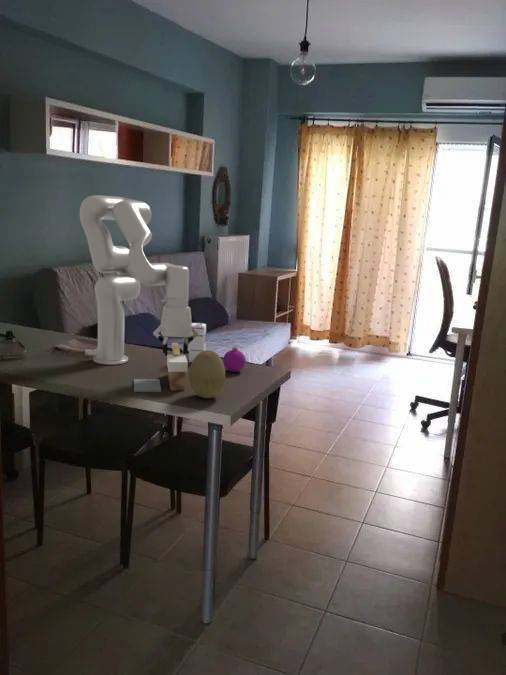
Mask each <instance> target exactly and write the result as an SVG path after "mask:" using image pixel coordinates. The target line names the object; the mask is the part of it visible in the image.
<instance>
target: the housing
mask: <svg viewBox="0 0 506 675" xmlns="http://www.w3.org/2000/svg"><path fill="white" fill-rule="evenodd" d="M167 379H168V384H169V389H171V390H170V391H185V385H186V384H185V383H186V382H185V381H186V372H168V371H167Z"/></svg>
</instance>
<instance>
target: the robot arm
mask: <svg viewBox="0 0 506 675" xmlns="http://www.w3.org/2000/svg"><path fill="white" fill-rule="evenodd" d="M151 220H152V210H151V208H150V206H149V205H148V203H146V202H144V201H141V200H137V199H132V198H127V197H123V196H112V195H103V194H102V195H100V194H98V195H90V196H87V197H86V198H84V199H83V201H82V203H81V205H80V207H79V221H80V224H81V227H82V228H83V231H84V234H85V237H86V241H87V245H88V248H89V253H90V257H91V261H92V264H93V267H94V269H95V271H97V272H98V273H104V274H107V273H109V274H111V273H116V274H117V275H116V274H113V275H106V276H102V277H100V278H99V279H98V280H97V281H96V283H95V285H94V293H95V294H94V295H95V298H96V305H97V347H96V348H94V349H85V350H84V351H85V352H84V353H85V354H84V355H87V356H89V357H90V356H93V359H92V360H93V362H94V363H96V364H101V365H108V366H109V365H122V364H125V363H127V362H128V361H129V357H128V356H127V355H125V320H126V319H125V318H126V317H125V311H124V307H123V306H122V304H121V302H124V301H130V300H135V299H136V298H138V297H139V295H140V294H141V285H143V286H145V287H156V286H165V297H164V298H161V299H160V303H161V304H164V306H163V307H162V312H161V318H160V319H161V320H160V325H159V326H158V327H157V328H156V329H155V330H154V331H153V332H152V333H153V334H152V335H153V336H155V337H156V338H157V339H158V340H159V341H160V342H161V343H162V354H164V356H165V357H167V354H168V346H169V345H168V340H169V338H183V340H184V342H183V344H182V355H185V356H187V354H189V343H190V342H191V341H192V340H193V339H194V338H195V337H197V336H198V333H197V331H196V330H195V329H194V328H193V327H192V323H193V322H192V309H191V307H190V306H189V290H190V288H189V287H190V286H189V285H190V270H189V267H188V266H186V265H176V264H173V263H169V262H153V263H152V262H151V263H150V262H149V261H148V258H147V257H146V255H145V253H144V247H145V246H147V245H148V244H149V243H150V241H151V240H152V238H153V233H152V232H151V230H150V229H149V227H148V224H149V223H150V222H151ZM103 221H115V222H116V224H117V226H118V228H119V229H120V231H121V232H122V234H123V235H124V237H125V239H126V241H127V243H128V245H129V248H128V247H126V246H123V245H114V241H113V239H112V235H111V233H110V231H109V229H108V227H107V226H106V224H105V223H104V222H103ZM191 331H192V333H193V334H192V335H191ZM159 333H161V335H160V334H159ZM189 336H190V337H189Z"/></svg>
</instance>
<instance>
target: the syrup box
mask: <svg viewBox="0 0 506 675" xmlns="http://www.w3.org/2000/svg"><path fill="white" fill-rule="evenodd" d="M192 327H193V328H194V329H195V330H196V331H197V333H198V336H197V337H195V338H194V339H193V340H192V341H191V342H190V343H189V344H188V363H190V362H192V361H193V360H194V358H195V357H196V356H197V355H198V354H199V353H200V352H202V351H206V344H207V343H206V341H207V323H203V322H192ZM192 334H193V333H192V331H191V335H192ZM189 337H190V336H189ZM189 337H188V338H189Z"/></svg>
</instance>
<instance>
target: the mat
mask: <svg viewBox="0 0 506 675" xmlns="http://www.w3.org/2000/svg"><path fill="white" fill-rule="evenodd" d="M133 392H134V393H162V388H161V380H160V379H157V378H155V379H154V378H150V379H149V378H144V379H143V378H138V379H137V378H134V379H133Z"/></svg>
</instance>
